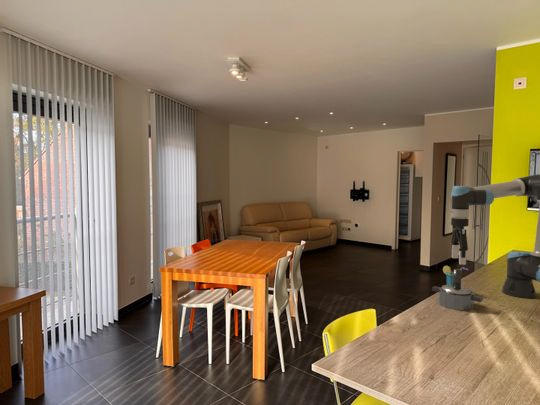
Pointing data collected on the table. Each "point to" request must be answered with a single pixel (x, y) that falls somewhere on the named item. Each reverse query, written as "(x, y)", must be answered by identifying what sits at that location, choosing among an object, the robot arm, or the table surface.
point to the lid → (457, 285)
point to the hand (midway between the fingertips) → (458, 261)
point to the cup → (450, 274)
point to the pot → (457, 300)
